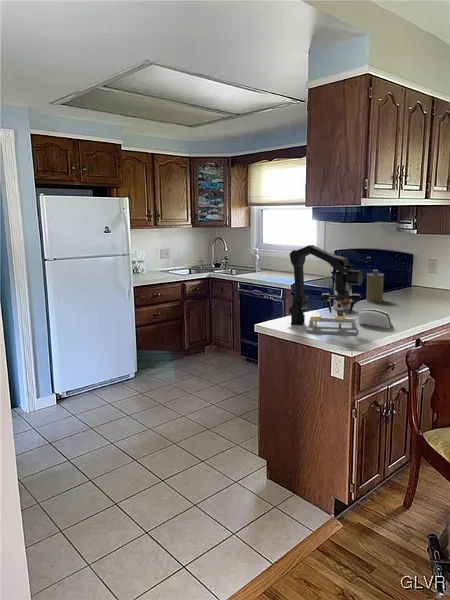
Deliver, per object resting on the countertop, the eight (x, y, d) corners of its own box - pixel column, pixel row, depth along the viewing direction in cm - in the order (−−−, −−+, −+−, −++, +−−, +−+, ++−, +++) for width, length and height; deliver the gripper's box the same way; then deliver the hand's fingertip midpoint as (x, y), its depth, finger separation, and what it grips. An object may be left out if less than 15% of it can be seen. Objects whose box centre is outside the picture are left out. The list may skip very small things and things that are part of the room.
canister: (383, 302, 288) (384, 271, 284) (366, 301, 290) (367, 271, 286) (382, 298, 298) (383, 268, 294) (365, 298, 301) (366, 268, 297)
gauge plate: (306, 332, 225) (306, 318, 224) (309, 326, 236) (309, 312, 235) (356, 335, 218) (356, 320, 216) (356, 328, 229) (357, 314, 228)
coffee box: (337, 310, 271) (338, 283, 268) (333, 308, 277) (333, 282, 274) (351, 309, 273) (352, 282, 269) (347, 306, 279) (347, 281, 276)
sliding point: (335, 328, 224) (335, 310, 222) (336, 324, 230) (336, 307, 228) (343, 328, 223) (344, 310, 221) (344, 325, 229) (344, 307, 227)
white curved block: (393, 326, 231) (391, 309, 227) (389, 331, 229) (387, 314, 224) (363, 321, 243) (360, 305, 238) (359, 326, 240) (356, 310, 236)
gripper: (320, 285, 218) (319, 317, 221) (360, 286, 212) (359, 318, 215) (322, 281, 228) (321, 312, 231) (360, 282, 222) (360, 313, 225)
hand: (340, 314), depth 225 cm, fingers open, 9 cm apart
